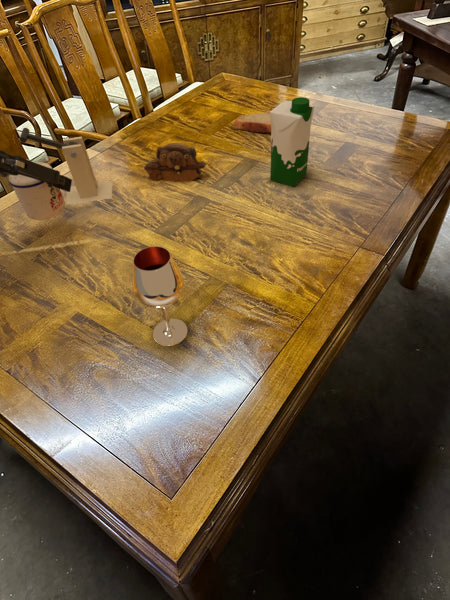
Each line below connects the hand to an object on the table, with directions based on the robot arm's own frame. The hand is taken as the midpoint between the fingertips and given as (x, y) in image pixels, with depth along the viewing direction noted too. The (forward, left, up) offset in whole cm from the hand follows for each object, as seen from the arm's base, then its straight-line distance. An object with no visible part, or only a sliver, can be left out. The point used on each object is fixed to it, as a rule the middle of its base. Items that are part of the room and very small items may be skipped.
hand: (51, 182), depth 93 cm
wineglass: (+38, -23, -12) cm, 46 cm away
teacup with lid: (-1, -3, -4) cm, 5 cm away
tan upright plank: (-2, +13, -12) cm, 18 cm away
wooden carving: (+18, +25, -12) cm, 33 cm away
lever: (-7, +10, +2) cm, 12 cm away
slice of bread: (+33, +61, -12) cm, 70 cm away
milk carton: (+46, +34, -12) cm, 58 cm away
